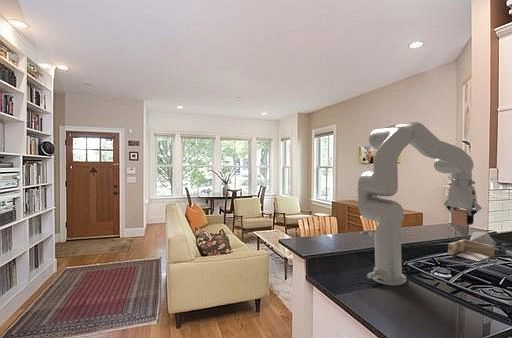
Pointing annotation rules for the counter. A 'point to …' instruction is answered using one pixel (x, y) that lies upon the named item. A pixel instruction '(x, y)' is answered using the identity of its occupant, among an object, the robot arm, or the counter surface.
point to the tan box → (471, 250)
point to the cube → (459, 217)
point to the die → (482, 238)
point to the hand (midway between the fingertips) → (462, 221)
